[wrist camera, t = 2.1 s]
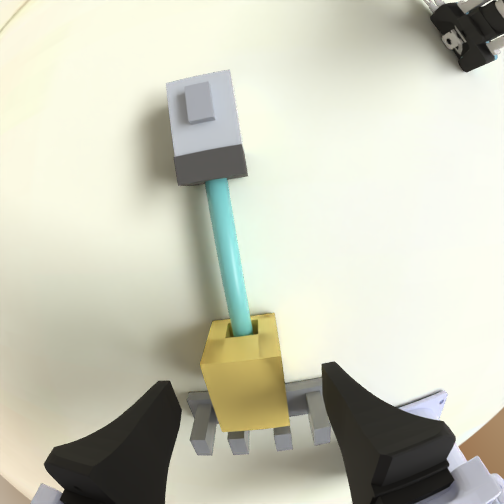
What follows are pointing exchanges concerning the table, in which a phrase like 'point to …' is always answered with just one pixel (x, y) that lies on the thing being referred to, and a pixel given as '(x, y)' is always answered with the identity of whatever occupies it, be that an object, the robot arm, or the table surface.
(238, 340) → the marker sleeve
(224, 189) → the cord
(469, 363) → the table surface
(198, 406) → the cable comb
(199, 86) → the connector
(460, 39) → the push button
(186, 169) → the band
